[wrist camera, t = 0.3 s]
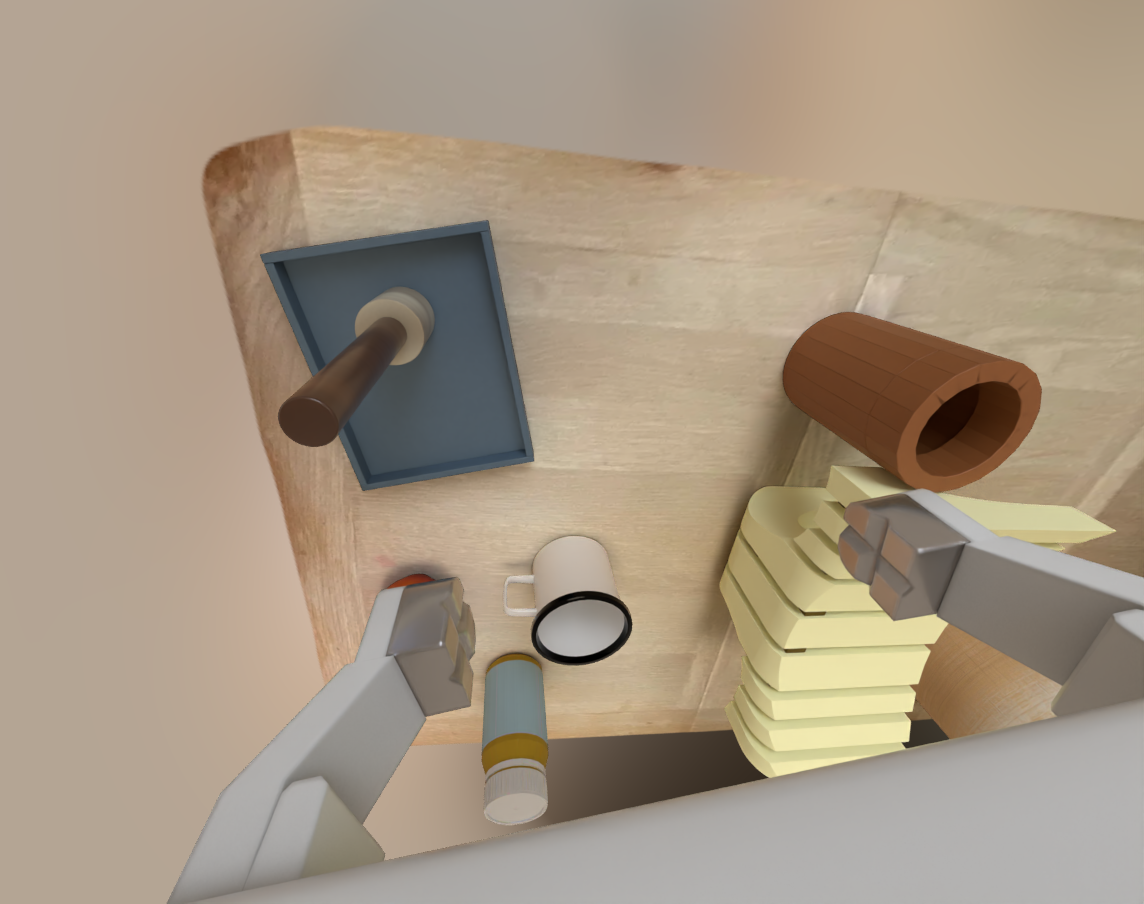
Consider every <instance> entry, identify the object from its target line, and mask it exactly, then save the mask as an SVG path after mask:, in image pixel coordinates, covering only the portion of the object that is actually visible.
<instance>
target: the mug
mask: <svg viewBox="0 0 1144 904" xmlns="http://www.w3.org/2000/svg"><path fill="white" fill-rule="evenodd" d="M510 583H534V597H535V608H523V609H511V608H509V607H508V606H507V586H508V584H510ZM503 611H504V612H505V614H507V615H509V616H520V617H535V618H534V620H533V622H532V626H531V639H532V643H533V646H534V648H535V649H536V650H537V652H538V653H539V654H540V655H542V656H543V657H544V658H546V659H548V660H550V661H552V662H555V663H558V664H563V665H586V664H590V663H595V662H598V661H600V660H603V659H605V658H607V657H609V656H611V655H612V654H614V653H615V652H616V651H618V650H619V649H620V648H621V647H622V646H623V645H624V644H625V643H626V641H627V640H628V638H629V636H630V634H631V631H632V619H631V614H630V611H629V609H628V607H627V606H626V605H625V604H624V603H623V602H622V601H621V600H620V597H619V593H618V590H617V586H616V583H615V579H614V575H613V572H612V568H611V565H610V561H609V558H608V554H607V552H606V550H605V549H604V548H603V546H602V545H601V544H599V543H598V542H597V541H595V540H592V539H590V538H587V537H583V536H567V537H563V538H559V539H556V540H554V541H552V542H550V543H548V544H547V545H545V546H544V547H543V548H542V549H541V550H540V551H539V552H538V554H537V555H536V557H535V559H534V562H533V575H516V576H509V577H508V578H506V580H505V582H504V590H503Z"/></svg>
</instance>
